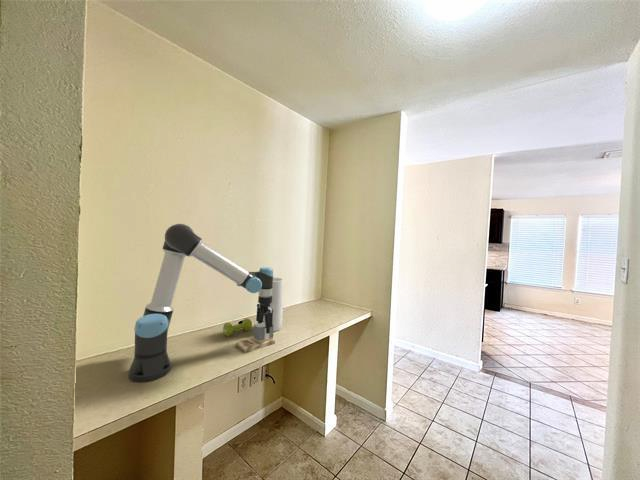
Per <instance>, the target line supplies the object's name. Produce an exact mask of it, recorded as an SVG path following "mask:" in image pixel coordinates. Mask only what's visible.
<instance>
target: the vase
mask: <svg viewBox="0 0 640 480" xmlns="http://www.w3.org/2000/svg"><path fill="white" fill-rule="evenodd" d="M284 280H285V279H284V278H282V277H275V276H273V288H272V289H273V290H272V295H271V296H272V303H270V308H271V309H273V325H274V330H273V332H276V331H280V330H281V329H282V327H283V326H282V325H283V314H284V313H283V312H284V311H283V308H284V286H285V285H284V282H285V281H284ZM262 323H265V316H264V318H263V322H262Z"/></svg>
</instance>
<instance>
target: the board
mask: <svg viewBox="0 0 640 480" xmlns="http://www.w3.org/2000/svg"><path fill="white" fill-rule="evenodd" d="M275 344H276V339H275V338H273V339H271V340H267V341H264V342H260V343H258V342H257V341H255V340H254V339H253V337H249V338H246V339H243V340H239V341H236V346H237V347H238V348H239V349H240V350H241V351H243V352H244V353H248V352H251V351H255V350H257V349H262V348H265V347H268V346H271V345H275Z"/></svg>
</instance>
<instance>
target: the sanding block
mask: <svg viewBox="0 0 640 480" xmlns="http://www.w3.org/2000/svg"><path fill="white" fill-rule="evenodd" d="M265 327H266V325H265V323H260V324H258V323H256V324H253V336H252V338H253V339H254V340H255V341H257V342H258V343H260V342H264V341H267V340H271V339H274V331H273V330H274V325H272V327H270V333H269V339H264V331H265Z"/></svg>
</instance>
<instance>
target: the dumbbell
mask: <svg viewBox="0 0 640 480" xmlns="http://www.w3.org/2000/svg"><path fill="white" fill-rule="evenodd" d="M252 324H253V323H252V320H251V319H250V318H244V319H243V320H242V322H241V323H239V324H234V325H233V324H232V323H230V322H225V323H224V325H223V327H222V332H223V335H224V336H225V337H228V338H229V337H231V336H232V335H233V333H234V331H238V330H244V332H251V329H252V327H253V325H252Z"/></svg>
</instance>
